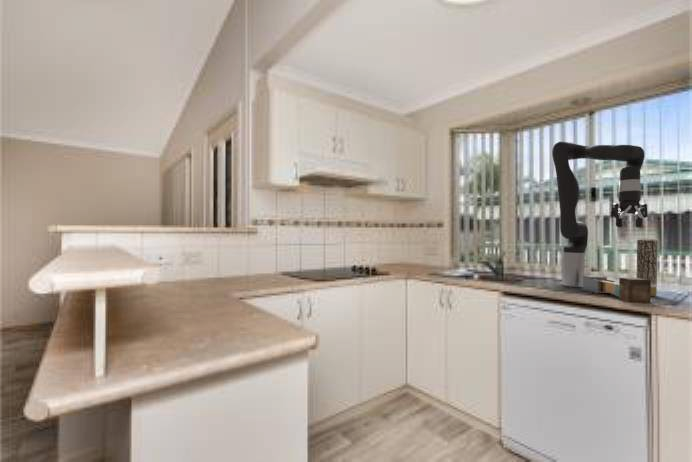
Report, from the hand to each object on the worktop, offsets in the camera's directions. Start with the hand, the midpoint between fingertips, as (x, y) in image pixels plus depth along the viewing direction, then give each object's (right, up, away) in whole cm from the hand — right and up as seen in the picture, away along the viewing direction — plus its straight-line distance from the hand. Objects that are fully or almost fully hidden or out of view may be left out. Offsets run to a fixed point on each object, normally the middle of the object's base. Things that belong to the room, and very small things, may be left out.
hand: (628, 227), depth 149 cm
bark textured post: (+9, -30, +1) cm, 32 cm away
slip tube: (-9, -29, -5) cm, 30 cm away
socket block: (-9, -30, -13) cm, 34 cm away
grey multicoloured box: (-8, -30, +7) cm, 32 cm away
